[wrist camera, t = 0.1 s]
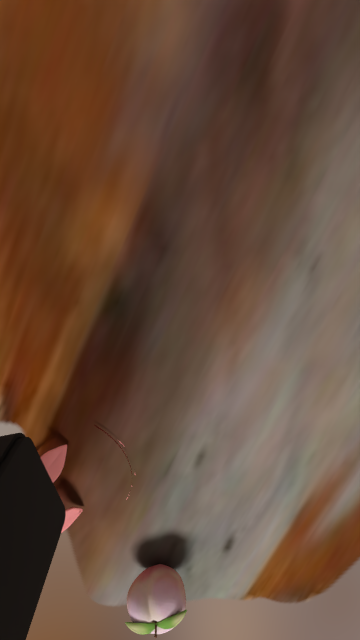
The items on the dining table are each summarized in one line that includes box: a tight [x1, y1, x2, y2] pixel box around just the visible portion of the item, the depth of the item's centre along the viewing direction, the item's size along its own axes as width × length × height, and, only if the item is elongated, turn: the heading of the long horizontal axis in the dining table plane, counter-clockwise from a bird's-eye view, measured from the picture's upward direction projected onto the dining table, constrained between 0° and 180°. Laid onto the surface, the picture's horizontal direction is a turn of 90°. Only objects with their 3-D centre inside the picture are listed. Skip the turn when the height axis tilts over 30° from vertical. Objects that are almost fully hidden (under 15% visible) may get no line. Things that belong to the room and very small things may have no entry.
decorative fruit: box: [125, 564, 187, 638], centre depth 54 cm, size 9×8×10 cm
